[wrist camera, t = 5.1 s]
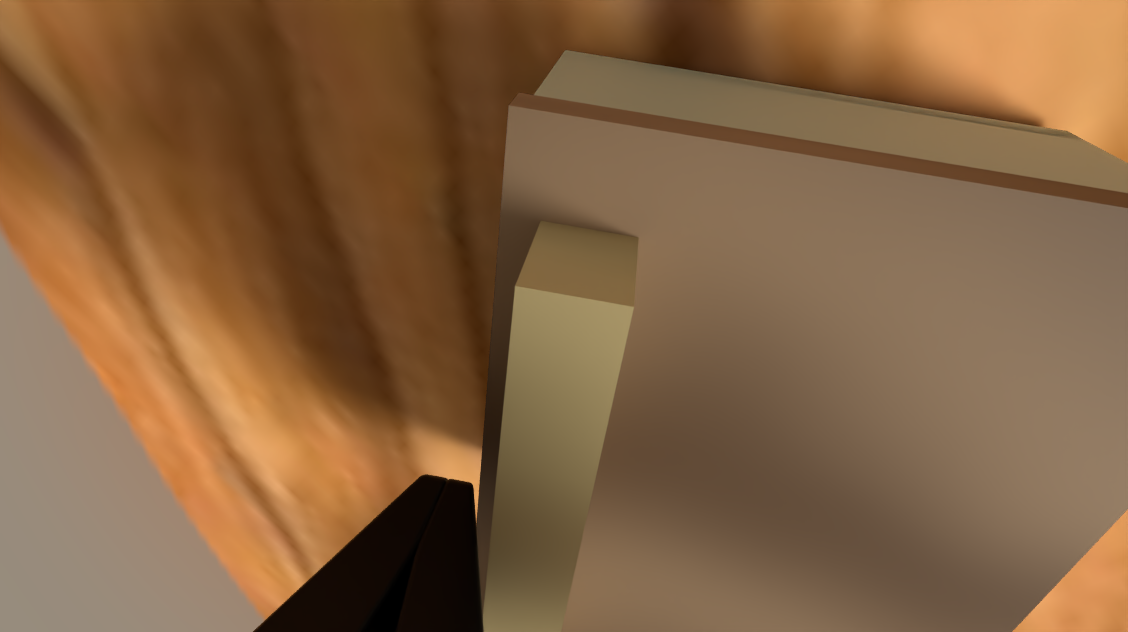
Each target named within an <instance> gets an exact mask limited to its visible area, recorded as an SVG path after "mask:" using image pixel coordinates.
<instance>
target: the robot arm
mask: <svg viewBox="0 0 1128 632" xmlns="http://www.w3.org/2000/svg"><path fill="white" fill-rule="evenodd" d="M253 632H484V626H483V612H482V599H481V585H480V571H479V557H478V544H477V530H476V516H475V502H474V489H473V485H472V484H471V483H470V482H465V481H460V480H454V479H449V480H448V479H446V478H444V477H438V476H433V475H428V474H425V475H422V476H420V477H419V478H418V479H417V480H416V481H415V482H414V483H413V484H411V485H410V486H409V487H408V488H407V489H406V490H405V491H404V492H403V493H402V494H401V495H400V496H398V497H397V498H396V499H395V500H394V501H393V502H392V503H391V504H390V505H389V506H388V507H387V508H386V509H384V510H383V511H382V512H381V513H380V514H379V515H378V516H377V517H376V518H375V519H374V520H373V521H372V522H370V523H369V524H368V525H367V526H366V527H365V528H364V529H363V530H362V531H361V532H360V533H359V534H358V535H356V536H355V537H354V538H353V539H352V540H351V541H350V542H349V543H348V544H347V545H346V546H345V547H344V548H342V549H341V550H340V551H339V552H338V553H337V554H336V555H335V556H334V557H333V558H332V559H331V560H330V561H328V562H327V563H326V564H325V565H324V566H323V567H322V568H321V569H320V570H319V571H318V572H317V573H316V574H314V575H313V576H312V577H311V578H310V579H309V580H308V581H307V582H306V583H305V584H304V585H303V586H302V587H300V588H299V589H298V590H297V591H296V592H295V593H294V594H293V595H292V596H291V597H290V598H289V599H288V600H286V601H285V602H284V603H283V604H282V605H281V606H280V607H279V608H278V609H277V610H276V611H275V612H274V613H272V614H271V615H270V616H269V617H268V618H267V619H266V620H265V621H264V622H263V623H262V624H261V625H260V626H258V627H257V628H256V629H255V630H254V631H253Z"/></svg>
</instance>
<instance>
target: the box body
mask: <svg viewBox="0 0 1128 632" xmlns="http://www.w3.org/2000/svg"><path fill="white" fill-rule="evenodd" d="M534 95H537V96H543V97H549V98H555V99H561V100H567V101H573V102H579V103H585V104H591V105H598V106H604V107H610V108H616V109H622V110H628V111H634V112H640V113H646V114H652V115H658V116H664V117H670V118H676V119H682V120H688V121H694V122H700V123H706V124H713V125H719V126H725V127H731V128H737V129H743V130H749V131H755V132H761V133H767V134H773V135H779V136H785V137H791V138H797V139H803V140H809V141H815V142H821V143H828V144H834V145H840V146H846V147H852V148H858V149H864V150H870V151H876V152H882V153H888V154H894V155H900V156H906V157H912V158H918V159H924V160H930V161H936V162H943V163H949V164H955V165H961V166H967V167H973V168H979V169H985V170H991V171H997V172H1003V173H1009V174H1015V175H1021V176H1027V177H1033V178H1039V179H1045V180H1052V181H1058V182H1064V183H1070V184H1076V185H1082V186H1088V187H1094V188H1100V189H1106V190H1112V191H1118V192H1124V193H1128V163H1126V162H1124V161H1123V160H1121V159H1119V158H1117V157H1115V156H1113V155H1111V154H1109V153H1107V152H1106V151H1104V150H1102V149H1100V148H1098V147H1096V146H1094V145H1092V144H1090V143H1089V142H1087V141H1085V140H1083V139H1081V138H1079V137H1077V136H1075V135H1073V134H1072V133H1070V132H1068V131H1063V130H1057V129H1051V128H1045V127H1038V126H1032V125H1026V124H1020V123H1014V122H1008V121H1001V120H995V119H989V118H983V117H977V116H970V115H964V114H958V113H952V112H946V111H940V110H933V109H927V108H921V107H915V106H909V105H903V104H896V103H890V102H884V101H878V100H872V99H866V98H859V97H853V96H847V95H841V94H835V93H829V92H822V91H816V90H810V89H804V88H798V87H791V86H785V85H779V84H773V83H767V82H761V81H754V80H748V79H742V78H736V77H730V76H724V75H717V74H711V73H705V72H699V71H693V70H687V69H680V68H674V67H668V66H662V65H656V64H650V63H643V62H637V61H631V60H625V59H619V58H613V57H606V56H600V55H594V54H588V53H582V52H575V51H569V50H565V51H564V53H563V54H562V56H561V57H560V58H559V60H558V61H557V63H556V64H555V65H554V67H553V68H552V70H551V71H550V73H549V74H548V75H547V77H546V78H545V80H544V81H543V82H542V84H541V85H540V87H539V88H538V89H537V91H536V92H535V94H534Z"/></svg>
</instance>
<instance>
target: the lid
mask: <svg viewBox="0 0 1128 632" xmlns="http://www.w3.org/2000/svg"><path fill="white" fill-rule="evenodd" d="M1127 509H1128V193H1124V192H1118V191H1112V190H1106V189H1100V188H1094V187H1088V186H1082V185H1076V184H1070V183H1064V182H1058V181H1052V180H1045V179H1039V178H1033V177H1027V176H1021V175H1015V174H1009V173H1003V172H997V171H991V170H985V169H979V168H973V167H967V166H961V165H955V164H949V163H943V162H936V161H930V160H924V159H918V158H912V157H906V156H900V155H894V154H888V153H882V152H876V151H870V150H864V149H858V148H852V147H846V146H840V145H834V144H828V143H821V142H815V141H809V140H803V139H797V138H791V137H785V136H779V135H773V134H767V133H761V132H755V131H749V130H743V129H737V128H731V127H725V126H719V125H713V124H706V123H700V122H694V121H688V120H682V119H676V118H670V117H664V116H658V115H652V114H646V113H640V112H634V111H628V110H622V109H616V108H610V107H604V106H598V105H591V104H585V103H579V102H573V101H567V100H561V99H555V98H549V97H543V96H537V95H531V94H525V93H518V94H517V96H516V97H515V98H514V99H513V101H512V102H511V103H510V104H509V108H508V121H507V134H506V147H505V160H504V173H503V186H502V199H501V212H500V225H499V238H498V251H497V264H496V277H495V290H494V303H493V316H492V329H491V342H490V355H489V368H488V381H487V394H486V407H485V420H484V433H483V446H482V460H481V473H480V486H479V499H478V512H477V525H476V530H477V544H478V557H479V571H480V585H481V599H482V612H483V626H484V632H1012V631H1013V630H1014V629H1015V628H1016V627H1017V626H1018V625H1019V624H1020V623H1021V622H1022V621H1023V620H1024V619H1025V617H1026V616H1027V615H1028V614H1029V613H1030V612H1031V611H1032V610H1033V609H1034V608H1035V607H1036V606H1037V605H1038V604H1039V603H1040V602H1041V601H1042V599H1043V598H1044V597H1045V596H1046V595H1047V594H1048V593H1049V592H1050V591H1051V590H1052V589H1053V588H1054V587H1055V586H1056V585H1057V584H1058V582H1059V581H1060V580H1061V579H1062V578H1063V577H1064V576H1065V575H1066V574H1067V573H1068V572H1069V571H1070V570H1071V569H1072V568H1073V567H1074V566H1075V564H1076V563H1077V562H1078V561H1079V560H1080V559H1081V558H1082V557H1083V556H1084V555H1085V554H1086V553H1087V552H1088V551H1089V550H1090V549H1091V548H1092V546H1093V545H1094V544H1095V543H1096V542H1097V541H1098V540H1099V539H1100V538H1101V537H1102V536H1103V535H1104V534H1105V533H1106V532H1107V531H1108V530H1109V528H1110V527H1111V526H1112V525H1113V524H1114V523H1115V522H1116V521H1117V520H1118V519H1119V518H1120V517H1121V516H1122V515H1123V514H1124V513H1125V512H1126V510H1127Z"/></svg>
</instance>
